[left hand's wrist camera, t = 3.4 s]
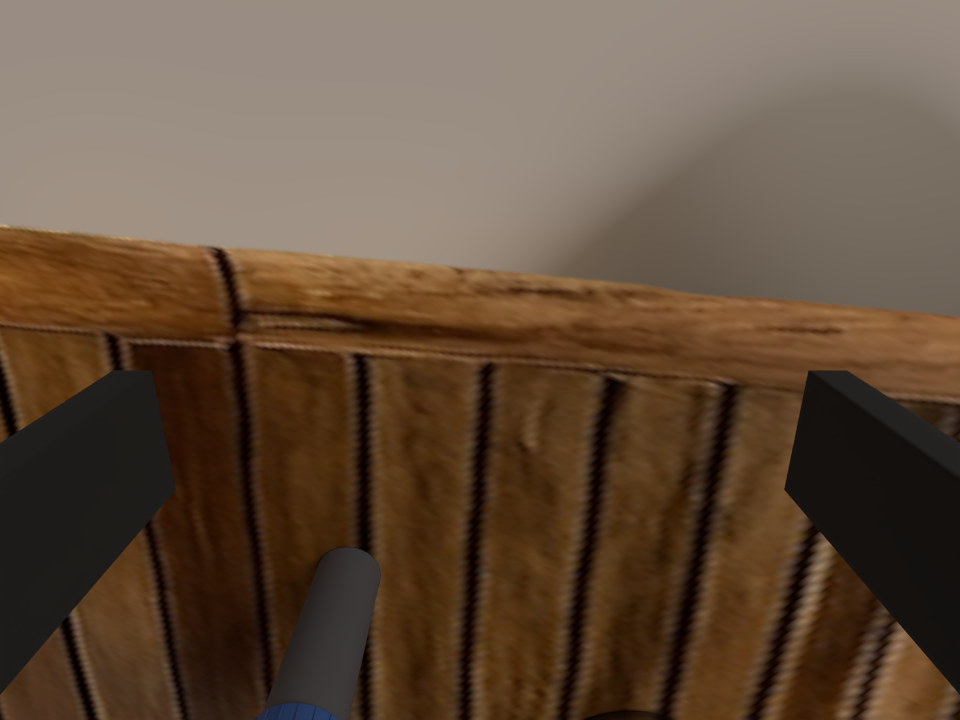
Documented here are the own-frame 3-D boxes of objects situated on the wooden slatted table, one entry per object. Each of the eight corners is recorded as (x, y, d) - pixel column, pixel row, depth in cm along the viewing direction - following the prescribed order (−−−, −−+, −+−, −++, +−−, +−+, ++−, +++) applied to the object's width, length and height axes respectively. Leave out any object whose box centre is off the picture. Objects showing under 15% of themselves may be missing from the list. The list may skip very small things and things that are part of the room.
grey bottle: (310, 586, 48) (233, 790, 33) (327, 538, 47) (255, 729, 32) (369, 605, 49) (320, 812, 34) (389, 558, 47) (346, 754, 32)
